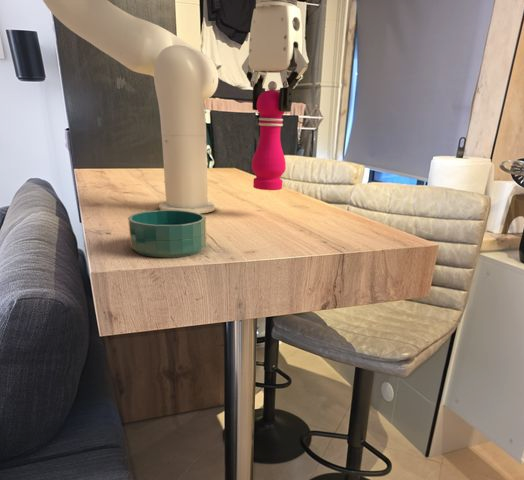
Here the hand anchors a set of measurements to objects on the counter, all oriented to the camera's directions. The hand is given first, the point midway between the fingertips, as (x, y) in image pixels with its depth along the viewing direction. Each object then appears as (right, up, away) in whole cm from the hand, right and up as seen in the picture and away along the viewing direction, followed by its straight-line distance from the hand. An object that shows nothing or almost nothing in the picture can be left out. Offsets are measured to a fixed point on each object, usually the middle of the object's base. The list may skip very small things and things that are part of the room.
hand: (271, 109), depth 91 cm
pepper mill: (-1, -13, +7) cm, 15 cm away
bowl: (-17, -31, -16) cm, 39 cm away
